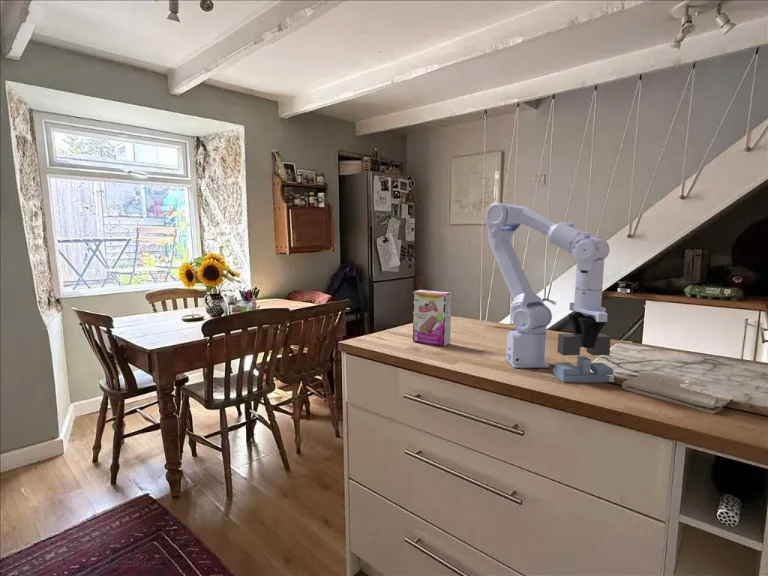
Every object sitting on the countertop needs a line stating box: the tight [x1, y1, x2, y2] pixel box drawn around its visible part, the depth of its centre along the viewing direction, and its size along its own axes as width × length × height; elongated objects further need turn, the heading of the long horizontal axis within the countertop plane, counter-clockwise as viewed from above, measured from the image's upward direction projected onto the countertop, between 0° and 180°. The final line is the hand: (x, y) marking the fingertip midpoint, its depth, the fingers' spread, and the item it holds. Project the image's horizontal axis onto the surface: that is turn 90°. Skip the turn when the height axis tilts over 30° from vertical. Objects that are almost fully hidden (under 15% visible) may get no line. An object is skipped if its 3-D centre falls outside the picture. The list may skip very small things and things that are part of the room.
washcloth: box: [621, 370, 725, 415], centre depth 91 cm, size 12×18×3 cm, turn 39°
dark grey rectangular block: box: [557, 333, 612, 356], centre depth 100 cm, size 11×3×4 cm, turn 90°
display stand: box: [552, 355, 614, 383], centre depth 101 cm, size 12×6×5 cm, turn 90°
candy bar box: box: [412, 289, 452, 347], centre depth 132 cm, size 11×5×16 cm, turn 58°
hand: (584, 345), depth 100 cm, fingers closed on dark grey rectangular block, 3 cm apart
